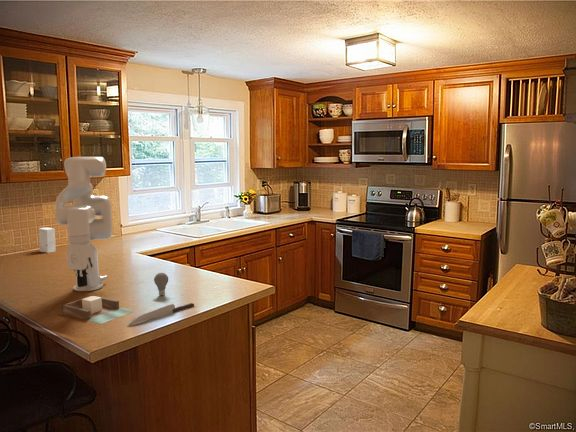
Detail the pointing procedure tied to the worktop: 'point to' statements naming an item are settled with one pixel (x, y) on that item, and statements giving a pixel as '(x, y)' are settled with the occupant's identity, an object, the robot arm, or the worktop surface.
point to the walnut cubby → (106, 314)
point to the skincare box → (47, 240)
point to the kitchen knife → (159, 313)
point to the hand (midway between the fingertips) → (82, 286)
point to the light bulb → (161, 282)
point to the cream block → (92, 304)
